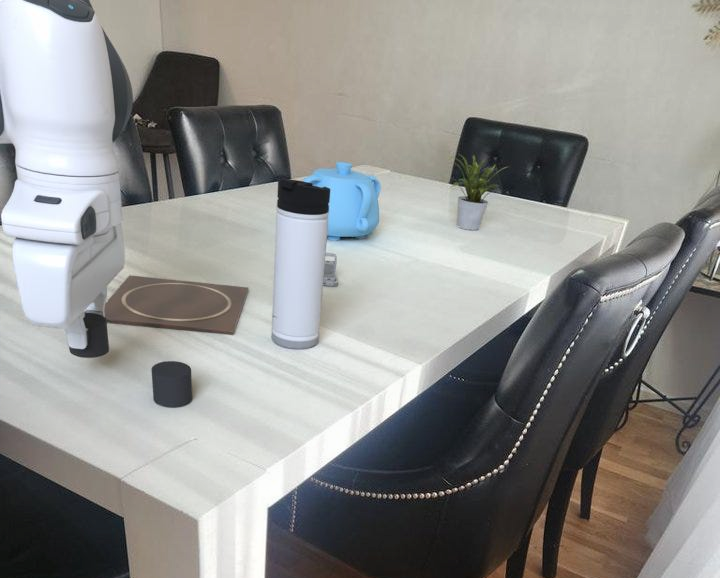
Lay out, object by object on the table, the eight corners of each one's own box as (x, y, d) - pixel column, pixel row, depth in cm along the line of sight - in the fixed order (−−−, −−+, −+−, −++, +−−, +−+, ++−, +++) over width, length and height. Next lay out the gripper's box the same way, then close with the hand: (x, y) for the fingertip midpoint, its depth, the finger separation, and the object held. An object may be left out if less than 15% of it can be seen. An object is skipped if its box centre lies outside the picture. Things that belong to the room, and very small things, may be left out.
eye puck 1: (64, 355, 68) (59, 324, 66) (76, 341, 72) (72, 310, 70) (102, 360, 69) (99, 328, 67) (113, 345, 72) (111, 314, 70)
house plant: (421, 220, 154) (433, 144, 145) (458, 217, 163) (472, 145, 154) (466, 236, 146) (481, 157, 137) (503, 231, 154) (520, 156, 145)
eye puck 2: (149, 406, 68) (147, 375, 66) (158, 388, 71) (156, 359, 69) (188, 409, 68) (187, 379, 66) (195, 391, 71) (194, 362, 69)
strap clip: (338, 287, 106) (341, 261, 104) (320, 286, 106) (322, 260, 103) (332, 271, 113) (334, 246, 111) (314, 270, 113) (316, 245, 110)
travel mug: (259, 339, 85) (264, 175, 74) (291, 327, 90) (300, 171, 79) (297, 354, 83) (307, 186, 71) (327, 341, 87) (342, 181, 76)
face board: (93, 321, 84) (92, 316, 83) (129, 278, 99) (129, 274, 98) (233, 334, 85) (233, 330, 85) (248, 290, 100) (248, 286, 100)
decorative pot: (363, 250, 127) (373, 175, 120) (287, 234, 130) (291, 160, 122) (383, 233, 141) (393, 164, 133) (314, 219, 143) (319, 151, 136)
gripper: (74, 174, 70) (88, 299, 78) (-10, 220, 53) (18, 373, 61) (134, 183, 70) (142, 305, 78) (70, 230, 54) (87, 381, 61)
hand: (87, 336), depth 69 cm, fingers closed on eye puck 1, 4 cm apart
